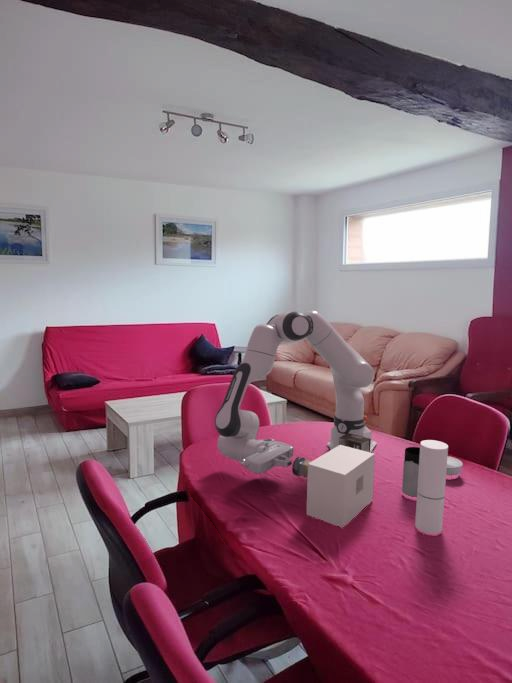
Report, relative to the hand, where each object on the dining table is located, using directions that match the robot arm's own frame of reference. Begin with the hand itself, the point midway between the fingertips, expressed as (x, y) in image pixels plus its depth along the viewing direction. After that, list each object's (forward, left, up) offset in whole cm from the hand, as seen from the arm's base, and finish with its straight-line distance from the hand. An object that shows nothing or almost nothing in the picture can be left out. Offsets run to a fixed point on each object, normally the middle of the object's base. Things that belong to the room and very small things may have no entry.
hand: (289, 463), depth 152 cm
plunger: (0, +10, -3) cm, 11 cm away
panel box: (0, +19, -9) cm, 21 cm away
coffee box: (-19, +14, -10) cm, 25 cm away
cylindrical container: (-5, +44, -10) cm, 45 cm away
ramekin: (-46, +37, -10) cm, 60 cm away
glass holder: (-26, +34, -10) cm, 44 cm away
